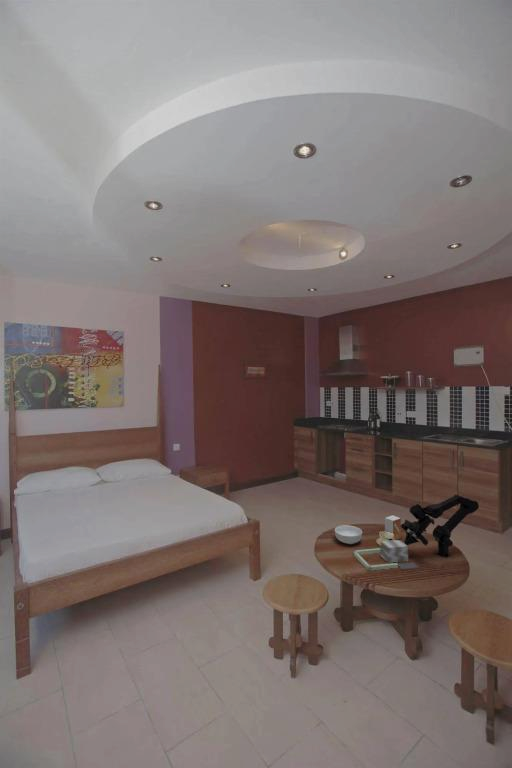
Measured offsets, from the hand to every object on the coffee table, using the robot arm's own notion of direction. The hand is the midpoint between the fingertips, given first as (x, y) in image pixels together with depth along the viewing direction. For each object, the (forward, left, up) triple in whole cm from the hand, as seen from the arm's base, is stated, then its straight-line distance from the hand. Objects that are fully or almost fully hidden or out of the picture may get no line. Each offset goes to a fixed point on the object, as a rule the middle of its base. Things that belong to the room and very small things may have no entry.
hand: (404, 545), depth 203 cm
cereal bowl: (+4, -34, -7) cm, 35 cm away
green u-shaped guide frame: (+11, -7, -7) cm, 15 cm away
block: (+5, -4, -7) cm, 10 cm away
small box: (-20, -16, -7) cm, 27 cm away
